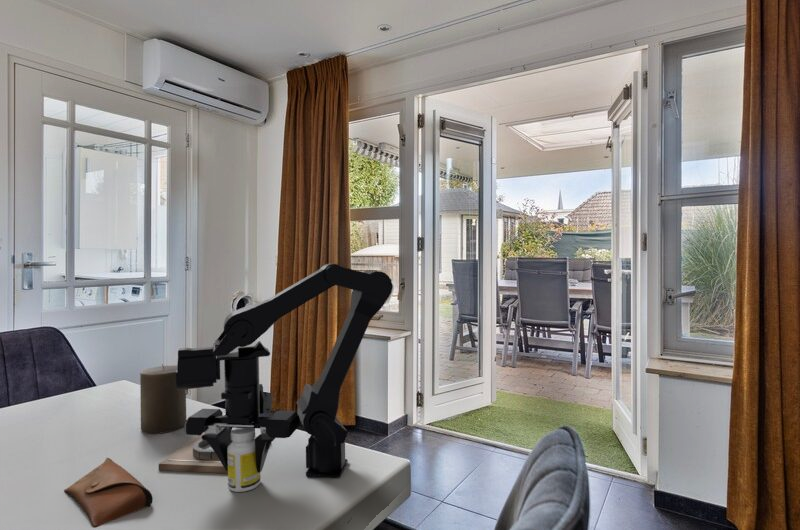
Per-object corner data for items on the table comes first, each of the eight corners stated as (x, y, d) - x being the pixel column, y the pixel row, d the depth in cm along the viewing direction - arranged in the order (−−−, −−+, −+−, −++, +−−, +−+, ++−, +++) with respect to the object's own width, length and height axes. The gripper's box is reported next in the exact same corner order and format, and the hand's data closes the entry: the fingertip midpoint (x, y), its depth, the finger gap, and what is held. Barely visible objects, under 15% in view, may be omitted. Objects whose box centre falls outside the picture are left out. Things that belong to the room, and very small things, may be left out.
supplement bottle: (265, 478, 82) (264, 424, 82) (252, 493, 77) (251, 436, 77) (236, 477, 83) (235, 423, 83) (222, 492, 78) (220, 435, 77)
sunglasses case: (58, 490, 79) (81, 450, 82) (99, 496, 84) (119, 458, 86) (94, 529, 68) (118, 482, 70) (138, 533, 72) (160, 489, 75)
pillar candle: (173, 434, 104) (172, 368, 103) (131, 434, 104) (130, 368, 104) (194, 419, 113) (193, 359, 113) (155, 419, 113) (154, 359, 113)
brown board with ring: (269, 442, 98) (268, 430, 98) (238, 473, 84) (238, 459, 84) (199, 439, 100) (199, 427, 100) (158, 469, 86) (158, 455, 86)
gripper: (308, 371, 87) (310, 452, 87) (215, 370, 89) (217, 449, 89) (287, 389, 75) (289, 481, 76) (181, 386, 78) (184, 477, 78)
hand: (244, 470), depth 80 cm, fingers closed on supplement bottle, 5 cm apart
